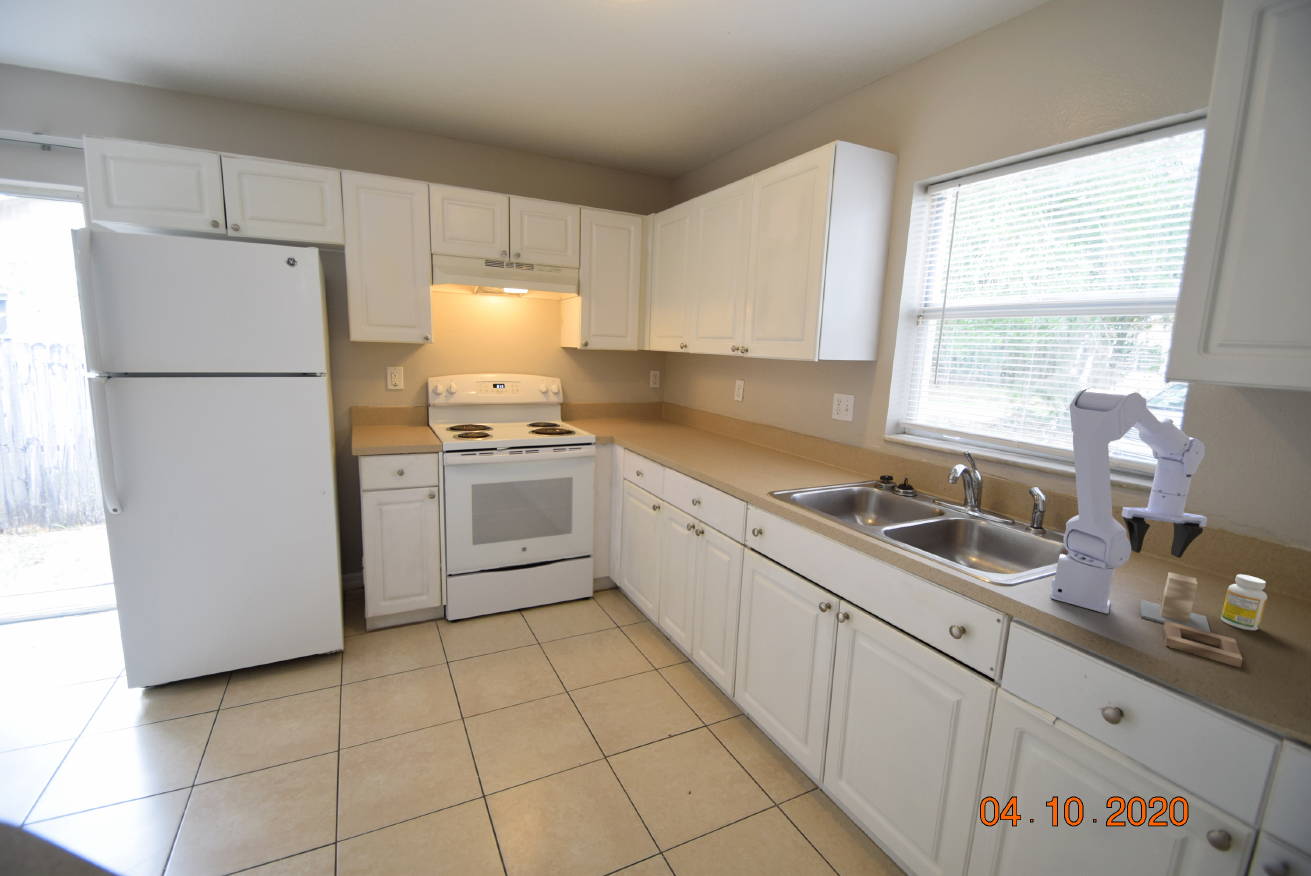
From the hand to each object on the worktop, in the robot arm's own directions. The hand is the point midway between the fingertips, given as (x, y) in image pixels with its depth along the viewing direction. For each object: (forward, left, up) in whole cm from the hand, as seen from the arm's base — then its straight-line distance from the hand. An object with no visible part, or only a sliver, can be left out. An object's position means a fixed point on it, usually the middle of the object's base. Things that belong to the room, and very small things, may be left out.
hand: (1155, 553), depth 122 cm
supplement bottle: (+14, -4, -10) cm, 17 cm away
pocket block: (+7, -23, -9) cm, 26 cm away
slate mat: (+4, -11, -9) cm, 15 cm away
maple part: (+4, -11, -9) cm, 15 cm away
